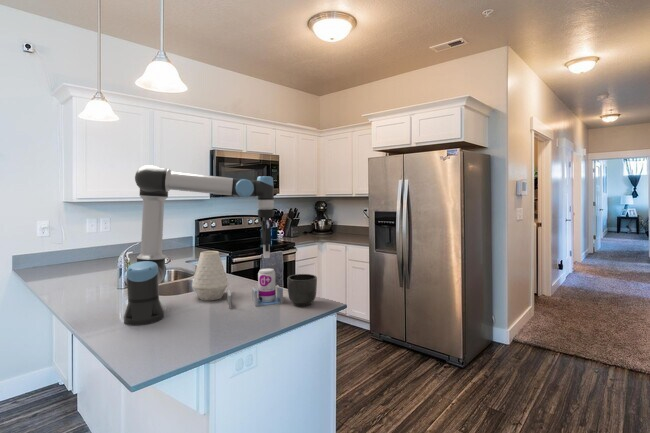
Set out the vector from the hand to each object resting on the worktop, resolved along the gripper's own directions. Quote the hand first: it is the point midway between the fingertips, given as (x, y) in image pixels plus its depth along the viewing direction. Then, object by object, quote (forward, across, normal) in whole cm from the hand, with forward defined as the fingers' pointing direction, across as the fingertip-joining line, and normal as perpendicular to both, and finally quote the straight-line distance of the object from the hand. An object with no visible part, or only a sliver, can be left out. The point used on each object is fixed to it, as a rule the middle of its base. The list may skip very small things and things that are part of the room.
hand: (266, 257), depth 179 cm
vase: (+22, +16, +26) cm, 37 cm away
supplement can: (+21, 0, 0) cm, 21 cm away
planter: (+22, -10, -15) cm, 28 cm away
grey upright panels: (+21, 0, +6) cm, 22 cm away
